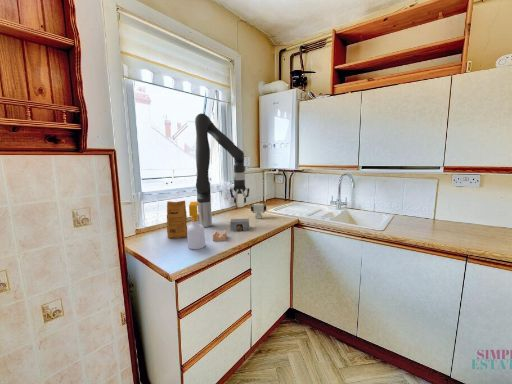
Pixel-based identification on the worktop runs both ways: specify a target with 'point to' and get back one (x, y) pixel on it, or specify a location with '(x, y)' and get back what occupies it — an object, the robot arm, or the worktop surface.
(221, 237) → the v block
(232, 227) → the grey rectangular block
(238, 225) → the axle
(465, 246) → the worktop surface
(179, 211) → the coffee package
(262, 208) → the pneumatic valve
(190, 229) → the soap bottle
